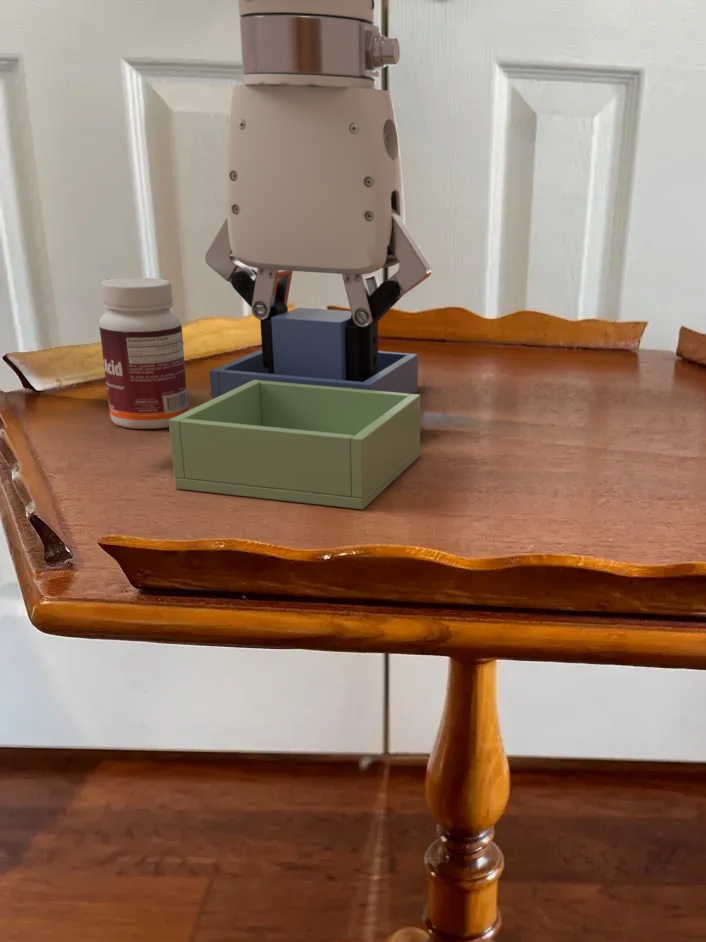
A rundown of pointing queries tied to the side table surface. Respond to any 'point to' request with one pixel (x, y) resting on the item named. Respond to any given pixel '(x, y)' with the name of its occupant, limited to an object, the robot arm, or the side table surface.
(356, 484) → the bin green
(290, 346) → the block
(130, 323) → the pill bottle
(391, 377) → the bin blue
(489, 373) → the side table surface
